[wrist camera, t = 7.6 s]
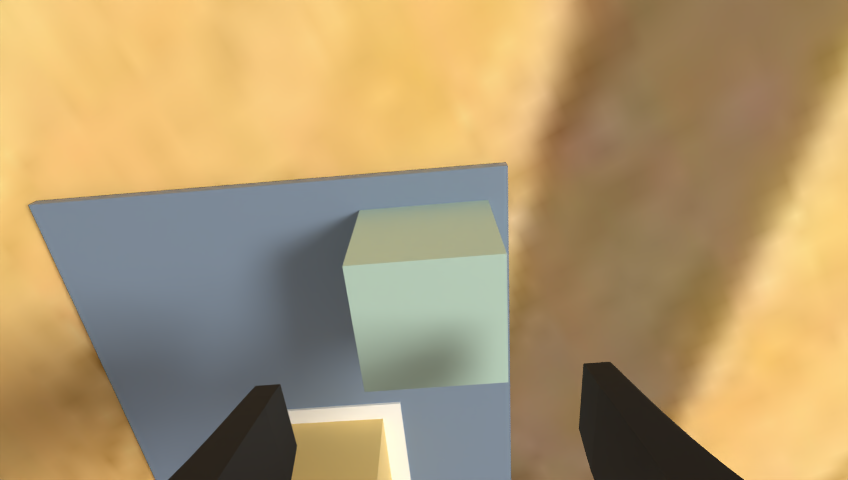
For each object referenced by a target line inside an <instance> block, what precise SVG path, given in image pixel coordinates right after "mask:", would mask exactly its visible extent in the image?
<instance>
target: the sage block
mask: <svg viewBox="0 0 848 480" xmlns="http://www.w3.org/2000/svg"><path fill="white" fill-rule="evenodd" d="M342 267H343V273H344V279H345V284H346V290H347V296H348V301H349V307H350V312H351V318H352V324H353V329H354V335H355V341H356V346H357V352H358V358H359V363H360V369H361V375H362V380H363V386H364V392H373V391H387V390H402V389H417V388H432V387H447V386H462V385H476V384H491V383H506V382H508V310H507V253H506V250H505V247H504V244H503V241H502V238H501V235H500V233H499V230H498V227H497V224H496V221H495V218H494V215H493V212H492V210H491V207H490V204H489V201H488V200H481V201H469V202H456V203H444V204H431V205H419V206H406V207H394V208H381V209H369V210H360V211H359V214H358V217H357V220H356V224H355V227H354V230H353V233H352V236H351V240H350V243H349V246H348V249H347V253H346V256H345V259H344V262H343V266H342Z"/></svg>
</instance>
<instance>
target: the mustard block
mask: <svg viewBox="0 0 848 480" xmlns="http://www.w3.org/2000/svg"><path fill="white" fill-rule="evenodd" d="M291 425H292V429H293V432H294V436H295V440H296V444H297V450H296V456H295V462H294V468H293V473H292V478H291V480H392V476H391V470H390V463H389V456H388V449H387V443H386V436H385V429H384V423H383V419H368V420H351V421H334V422H317V423H300V424H291Z"/></svg>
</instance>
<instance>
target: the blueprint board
mask: <svg viewBox="0 0 848 480" xmlns="http://www.w3.org/2000/svg"><path fill="white" fill-rule="evenodd" d="M481 200H488V201H489V204H490V207H491V210H492V212H493V215H494V218H495V221H496V224H497V227H498V230H499V233H500V235H501V238H502V241H503V244H504V247H505V250H506V253H507V310H508V382H506V383H491V384H476V385H462V386H447V387H432V388H417V389H402V390H387V391H373V392H364V386H363V380H362V375H361V369H360V363H359V358H358V352H357V346H356V341H355V335H354V329H353V324H352V318H351V312H350V307H349V301H348V296H347V290H346V284H345V279H344V273H343V267H342V266H343V262H344V259H345V256H346V253H347V249H348V246H349V243H350V240H351V236H352V233H353V230H354V227H355V224H356V220H357V217H358V214H359V211H360V210H369V209H381V208H394V207H406V206H419V205H431V204H444V203H456V202H469V201H481ZM28 206H29V208H30V210H31V212H32V214H33V216H34V218H35V221H36V223H37V225H38V227H39V229H40V231H41V234H42V236H43V238H44V240H45V242H46V244H47V247H48V249H49V251H50V253H51V255H52V257H53V260H54V262H55V264H56V266H57V268H58V270H59V272H60V275H61V277H62V279H63V281H64V283H65V285H66V288H67V290H68V292H69V294H70V296H71V298H72V301H73V303H74V305H75V307H76V309H77V311H78V314H79V316H80V318H81V320H82V322H83V324H84V326H85V329H86V331H87V333H88V335H89V337H90V339H91V342H92V344H93V346H94V348H95V350H96V352H97V355H98V357H99V359H100V361H101V363H102V365H103V368H104V370H105V372H106V374H107V376H108V378H109V380H110V383H111V385H112V387H113V389H114V391H115V393H116V396H117V398H118V400H119V402H120V404H121V406H122V409H123V411H124V413H125V415H126V417H127V419H128V422H129V424H130V426H131V428H132V430H133V432H134V434H135V437H136V439H137V441H138V443H139V445H140V447H141V450H142V452H143V454H144V456H145V458H146V460H147V463H148V465H149V467H150V469H151V471H152V473H153V476H154V478H155V480H168V479H169V478H170V477H171V476H172V475H173V474H174V473H175V472H176V471H177V470H178V469H179V468H180V467H181V466H182V465H183V464H184V463H185V462H186V461H187V460H188V459H189V458H190V457H191V456H192V455H193V454H194V453H195V452H196V450H197V449H198V448H199V447H200V446H201V445H202V444H203V443H204V442H205V441H206V440H207V439H208V438H209V436H210V435H211V434H212V433H213V432H214V431H215V430H216V429H217V428H218V427H219V425H220V424H221V423H222V422H223V421H224V420H225V419H226V418H227V417H228V415H229V414H230V413H231V412H232V411H233V410H234V409H235V408H236V406H237V405H238V404H239V403H240V402H241V401H242V400H243V399H244V398H245V397H246V395H247V394H248V393H249V392H250V391H251V390H252V389H253V388H254V387H255V386H259V385H274V384H280V385H281V388H282V392H283V396H284V399H285V403H286V407H287V410H288V414H289V418H290V421H291V424H300V423H317V422H334V421H351V420H368V419H383V423H384V429H385V436H386V443H387V449H388V456H389V463H390V470H391V476H392V480H511V440H510V346H509V251H508V166H507V164H506V162H505V163H493V164H480V165H468V166H456V167H444V168H432V169H419V170H407V171H395V172H383V173H371V174H359V175H346V176H334V177H322V178H310V179H298V180H286V181H273V182H261V183H249V184H237V185H225V186H213V187H200V188H188V189H176V190H164V191H152V192H140V193H127V194H115V195H103V196H91V197H79V198H67V199H54V200H42V201H35V202H33V203H31V204H29V205H28Z"/></svg>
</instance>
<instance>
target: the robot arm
mask: <svg viewBox="0 0 848 480" xmlns="http://www.w3.org/2000/svg"><path fill="white" fill-rule="evenodd" d="M579 430H580V434H581V437H582V441H583V445H584V448H585V452H586V456H587V459H588V462H589V466H590V469H591V472H592V475H593V477H594V480H744V479H742V478H741V477H740V476H738V475H737V474H736V473H734V472H733V471H732V470H730V469H729V468H728V467H727V466H725V465H724V464H723V463H722V462H720V461H719V460H718V459H717V458H715V457H714V456H713V455H712V454H710V453H709V452H708V451H707V450H706V449H704V448H703V447H702V446H701V445H700V444H698V443H697V442H696V441H695V440H694V439H692V438H691V437H690V436H689V435H688V434H687V433H686V432H684V431H683V430H682V429H681V428H680V427H679V426H678V425H677V424H675V423H674V422H673V421H672V420H671V419H670V418H669V417H668V416H667V415H665V414H664V413H663V412H662V411H661V410H660V409H659V408H658V407H657V406H656V405H655V404H653V403H652V402H651V401H650V400H649V399H648V398H647V397H646V396H645V395H644V394H643V393H642V392H641V391H640V390H639V389H638V388H637V387H636V386H635V385H634V384H633V383H632V382H631V381H630V380H628V379H627V378H626V377H625V376H624V375H623V374H622V373H621V372H620V371H619V370H618V369H617V368H616V367H615V366H614V365H613V364H612V363H611V362H601V363H586V364H584V365H583V379H582V393H581V407H580V421H579ZM296 450H297V444H296V440H295V436H294V432H293V429H292V425H291V421H290V418H289V414H288V410H287V407H286V403H285V399H284V396H283V392H282V388H281V385H280V384H274V385H259V386H255V387H254V388H253V389H252V390H251V391H250V392H249V393H248V394H247V395H246V397H245V398H244V399H243V400H242V401H241V402H240V403H239V404H238V405H237V406H236V408H235V409H234V410H233V411H232V412H231V413H230V414H229V415H228V417H227V418H226V419H225V420H224V421H223V422H222V423H221V424H220V425H219V427H218V428H217V429H216V430H215V431H214V432H213V433H212V434H211V435H210V436H209V438H208V439H207V440H206V441H205V442H204V443H203V444H202V445H201V446H200V447H199V448H198V449H197V450H196V452H195V453H194V454H193V455H192V456H191V457H190V458H189V459H188V460H187V461H186V462H185V463H184V464H183V465H182V466H181V467H180V468H179V469H178V470H177V471H176V472H175V473H174V474H173V475H172V476H171V477H170V478H169V479H168V480H291V478H292V473H293V468H294V462H295V456H296Z"/></svg>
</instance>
